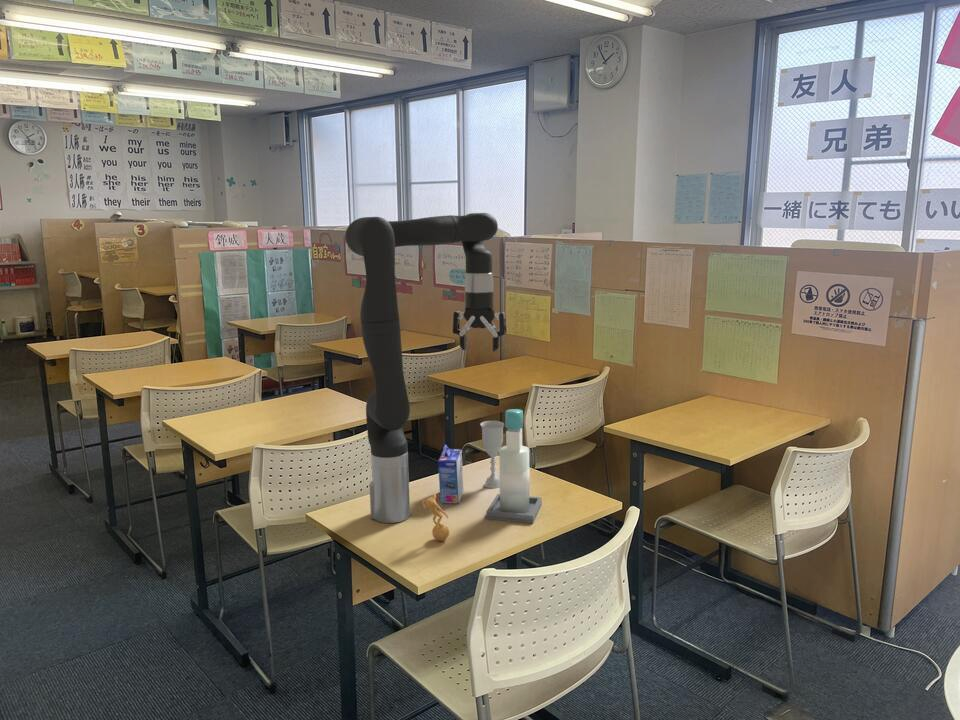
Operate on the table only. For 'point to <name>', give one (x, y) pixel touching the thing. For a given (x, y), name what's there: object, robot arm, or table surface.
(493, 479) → the chalice
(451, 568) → the table surface
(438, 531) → the figurine
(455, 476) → the ink cartridge box
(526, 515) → the pump bottle
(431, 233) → the robot arm
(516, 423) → the pump plunger
